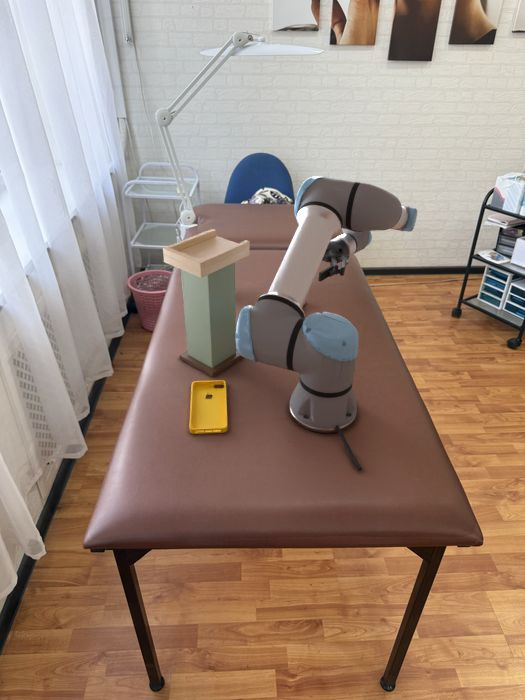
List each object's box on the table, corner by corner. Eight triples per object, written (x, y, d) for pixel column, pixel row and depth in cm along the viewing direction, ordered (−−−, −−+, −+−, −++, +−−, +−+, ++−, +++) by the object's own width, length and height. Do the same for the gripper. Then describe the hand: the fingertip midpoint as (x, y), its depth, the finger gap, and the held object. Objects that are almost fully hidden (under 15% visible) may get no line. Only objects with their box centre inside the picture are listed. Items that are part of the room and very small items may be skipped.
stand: (216, 336, 141) (212, 228, 124) (249, 352, 135) (249, 241, 117) (173, 362, 131) (162, 248, 113) (206, 380, 125) (200, 263, 107)
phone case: (189, 434, 109) (189, 429, 109) (192, 385, 123) (191, 381, 123) (227, 432, 110) (227, 428, 109) (225, 384, 124) (225, 379, 123)
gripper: (371, 270, 161) (335, 294, 147) (307, 249, 174) (268, 269, 160) (374, 248, 156) (337, 271, 143) (308, 228, 169) (268, 247, 156)
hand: (300, 270), depth 151 cm, fingers open, 13 cm apart
